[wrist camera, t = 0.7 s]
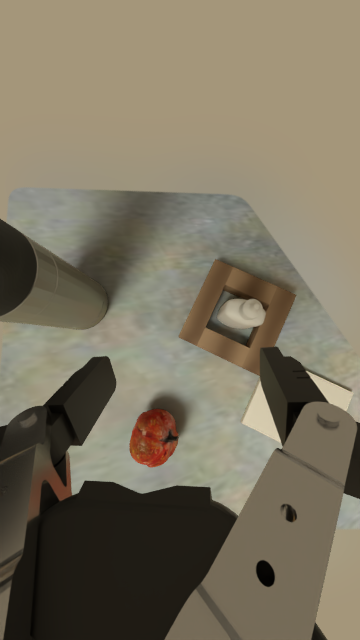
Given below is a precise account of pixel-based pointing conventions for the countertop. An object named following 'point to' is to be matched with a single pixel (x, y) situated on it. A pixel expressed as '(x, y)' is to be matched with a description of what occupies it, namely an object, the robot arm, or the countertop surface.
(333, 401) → the off-white tile
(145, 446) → the pomegranate
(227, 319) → the eye dropper bottle
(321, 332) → the countertop surface
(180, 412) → the countertop surface
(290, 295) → the walnut socket stand
